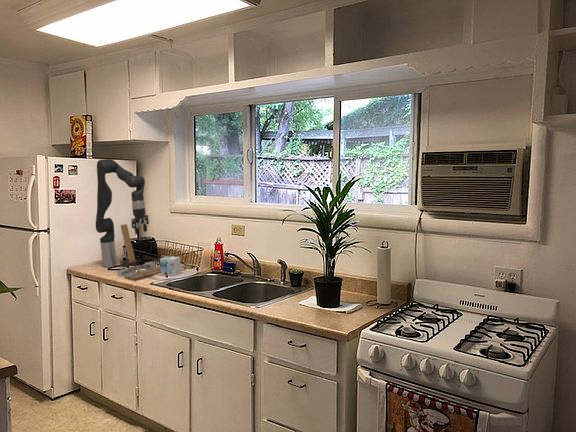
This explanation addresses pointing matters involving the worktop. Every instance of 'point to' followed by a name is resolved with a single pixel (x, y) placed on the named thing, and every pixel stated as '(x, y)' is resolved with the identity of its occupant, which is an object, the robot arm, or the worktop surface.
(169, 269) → the light bulb box
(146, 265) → the spanner
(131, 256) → the hammer
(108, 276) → the worktop surface
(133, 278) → the tool board
